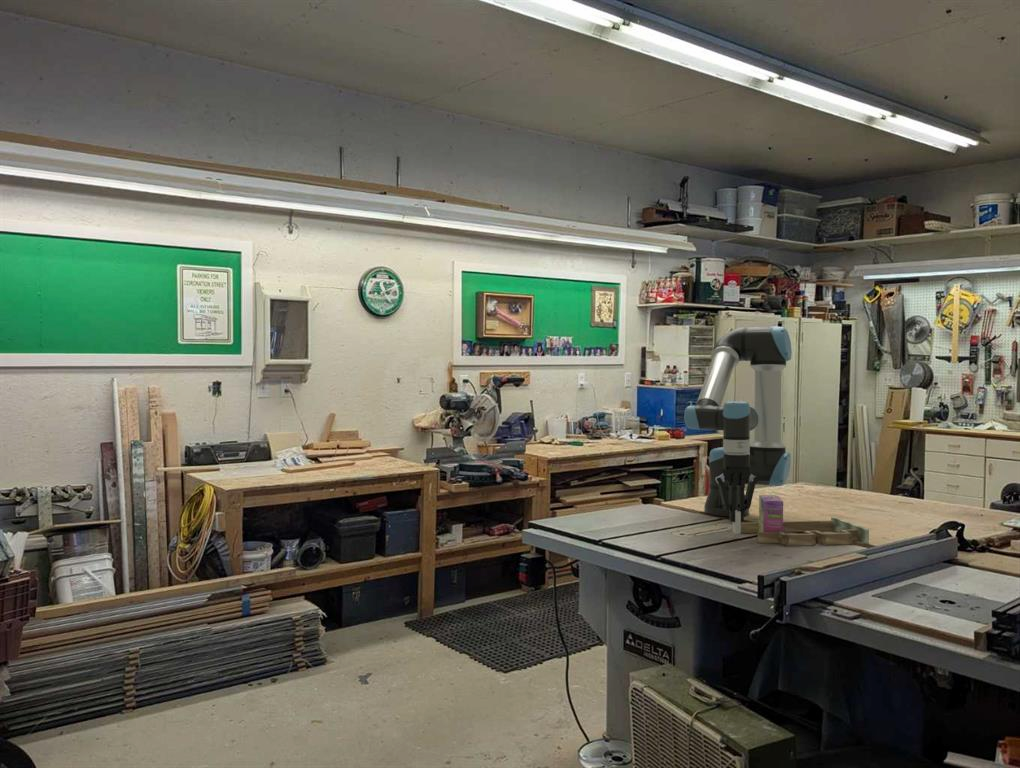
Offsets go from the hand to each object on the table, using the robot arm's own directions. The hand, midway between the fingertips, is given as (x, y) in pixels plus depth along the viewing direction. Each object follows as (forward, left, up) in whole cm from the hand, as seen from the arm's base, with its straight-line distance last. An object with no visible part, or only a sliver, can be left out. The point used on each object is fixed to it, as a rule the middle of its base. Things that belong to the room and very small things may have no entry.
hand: (736, 532), depth 228 cm
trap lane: (+2, +19, -2) cm, 19 cm away
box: (0, +11, -2) cm, 11 cm away
